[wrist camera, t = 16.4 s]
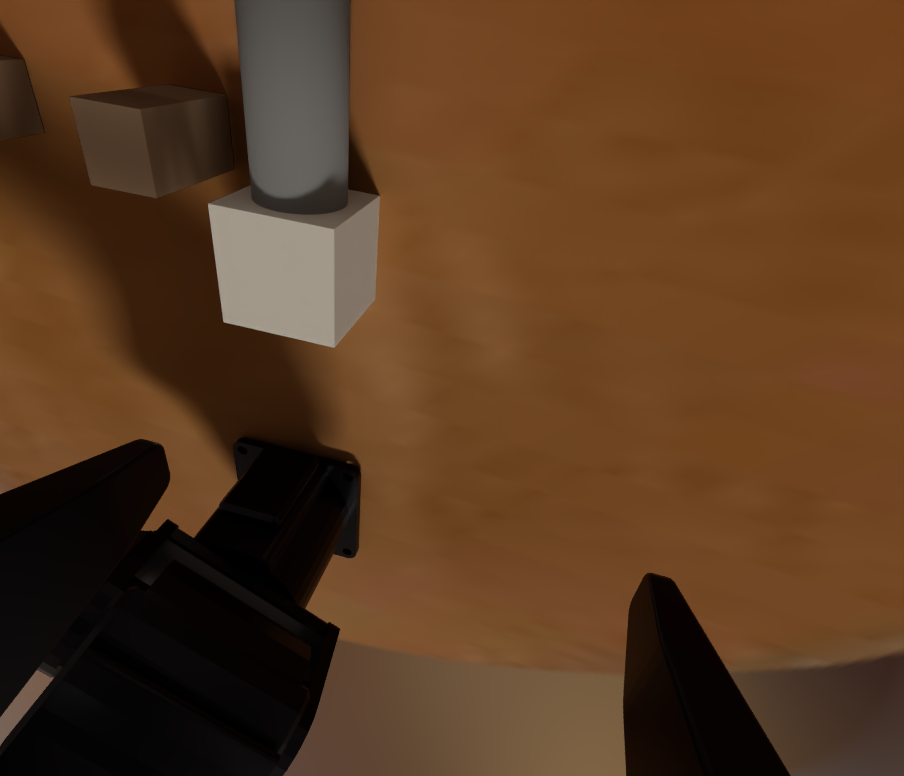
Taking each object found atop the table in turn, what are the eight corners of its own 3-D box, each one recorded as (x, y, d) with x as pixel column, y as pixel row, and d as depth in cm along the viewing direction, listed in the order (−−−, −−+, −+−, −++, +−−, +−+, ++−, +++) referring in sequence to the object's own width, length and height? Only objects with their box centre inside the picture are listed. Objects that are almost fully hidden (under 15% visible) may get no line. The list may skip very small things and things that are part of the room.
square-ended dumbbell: (375, 299, 21) (334, 347, 18) (280, 278, 22) (223, 322, 18) (401, -281, 13) (333, -388, 10) (244, -294, 13) (128, -400, 10)
